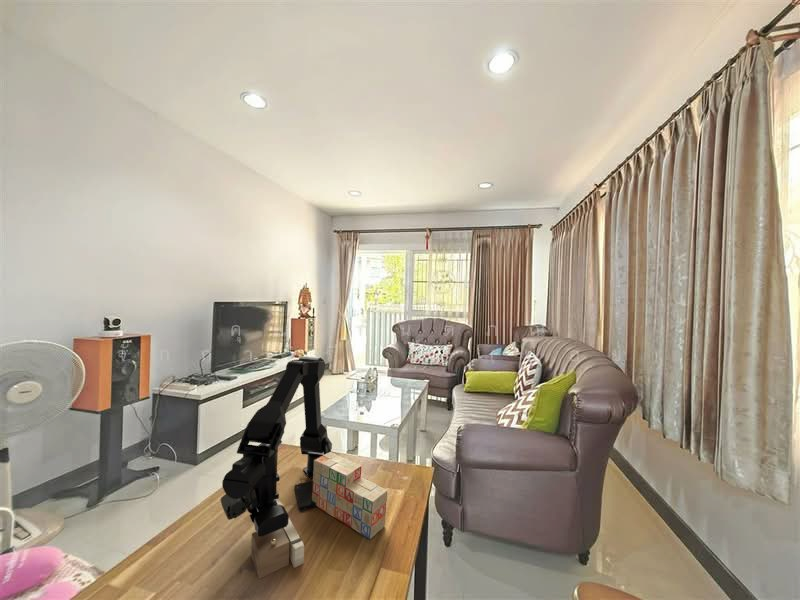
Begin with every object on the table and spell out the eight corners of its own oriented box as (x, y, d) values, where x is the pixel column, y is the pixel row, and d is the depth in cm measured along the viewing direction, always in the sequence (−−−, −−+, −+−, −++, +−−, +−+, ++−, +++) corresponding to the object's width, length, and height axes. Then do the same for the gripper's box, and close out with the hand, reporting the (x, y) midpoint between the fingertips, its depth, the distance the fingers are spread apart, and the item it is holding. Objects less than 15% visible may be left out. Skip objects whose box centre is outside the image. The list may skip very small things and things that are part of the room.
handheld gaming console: (287, 485, 93) (308, 454, 95) (305, 491, 97) (326, 462, 99) (298, 513, 84) (322, 479, 86) (318, 519, 87) (340, 486, 90)
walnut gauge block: (251, 555, 70) (251, 528, 70) (278, 543, 74) (279, 517, 74) (259, 579, 64) (260, 549, 64) (288, 564, 68) (289, 536, 68)
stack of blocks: (385, 526, 80) (388, 478, 80) (370, 540, 75) (373, 489, 75) (327, 492, 93) (330, 450, 93) (310, 503, 87) (313, 458, 87)
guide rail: (264, 505, 86) (265, 490, 86) (272, 502, 88) (272, 487, 88) (294, 568, 67) (294, 548, 67) (303, 563, 69) (304, 544, 69)
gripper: (218, 463, 76) (216, 527, 76) (232, 506, 61) (229, 586, 61) (267, 450, 82) (265, 509, 83) (290, 487, 67) (288, 559, 68)
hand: (261, 537), depth 73 cm, fingers closed
